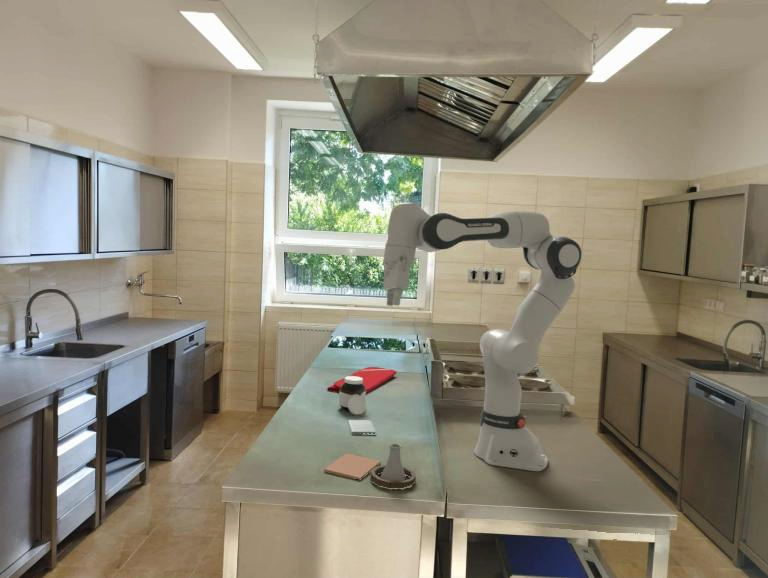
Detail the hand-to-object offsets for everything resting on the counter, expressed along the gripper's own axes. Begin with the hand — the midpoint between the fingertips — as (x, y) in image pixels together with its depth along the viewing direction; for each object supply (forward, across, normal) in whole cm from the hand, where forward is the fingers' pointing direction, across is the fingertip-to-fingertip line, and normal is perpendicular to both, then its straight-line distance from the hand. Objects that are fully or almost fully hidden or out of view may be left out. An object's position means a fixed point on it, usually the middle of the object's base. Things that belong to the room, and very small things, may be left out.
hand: (392, 305), depth 176 cm
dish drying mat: (+32, +95, -10) cm, 100 cm away
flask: (+48, -6, -5) cm, 48 cm away
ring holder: (+48, -6, -5) cm, 48 cm away
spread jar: (+39, +56, -1) cm, 68 cm away
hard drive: (+42, +36, -2) cm, 55 cm away
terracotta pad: (+47, +2, +5) cm, 47 cm away
